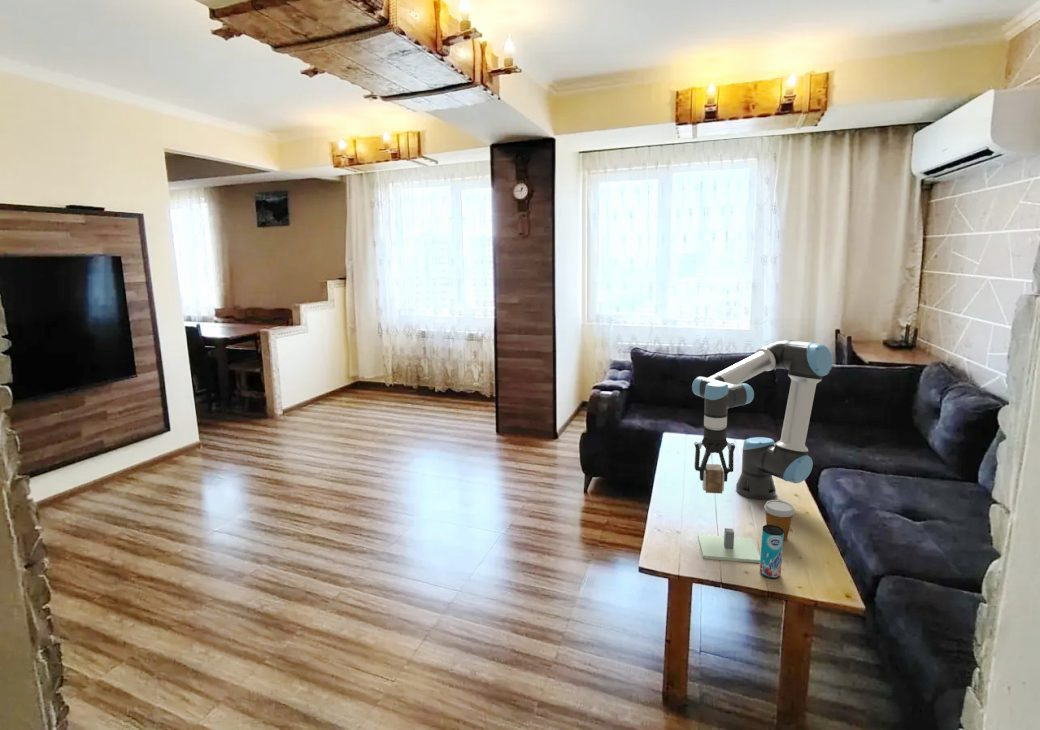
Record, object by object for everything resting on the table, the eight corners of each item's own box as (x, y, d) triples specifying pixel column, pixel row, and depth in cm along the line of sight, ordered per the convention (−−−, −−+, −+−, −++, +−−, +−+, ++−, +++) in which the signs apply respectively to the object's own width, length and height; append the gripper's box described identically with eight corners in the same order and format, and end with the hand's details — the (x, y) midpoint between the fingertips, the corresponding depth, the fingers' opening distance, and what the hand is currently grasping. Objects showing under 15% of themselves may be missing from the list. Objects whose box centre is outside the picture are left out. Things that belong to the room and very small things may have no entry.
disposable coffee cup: (790, 547, 182) (793, 514, 179) (760, 539, 187) (762, 507, 184) (793, 534, 189) (796, 503, 187) (764, 528, 194) (766, 497, 192)
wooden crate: (719, 487, 194) (720, 464, 192) (722, 493, 188) (723, 470, 187) (704, 486, 195) (704, 464, 193) (706, 492, 189) (706, 469, 188)
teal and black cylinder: (762, 578, 164) (765, 533, 161) (757, 567, 170) (760, 524, 167) (783, 580, 163) (786, 534, 160) (777, 569, 169) (780, 525, 166)
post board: (752, 541, 186) (753, 522, 185) (761, 563, 172) (763, 543, 171) (697, 537, 189) (698, 518, 188) (703, 558, 176) (704, 538, 175)
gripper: (741, 424, 189) (738, 485, 193) (686, 422, 192) (685, 483, 197) (745, 431, 181) (742, 495, 186) (688, 429, 185) (687, 492, 190)
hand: (713, 489), depth 191 cm, fingers closed on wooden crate, 5 cm apart
